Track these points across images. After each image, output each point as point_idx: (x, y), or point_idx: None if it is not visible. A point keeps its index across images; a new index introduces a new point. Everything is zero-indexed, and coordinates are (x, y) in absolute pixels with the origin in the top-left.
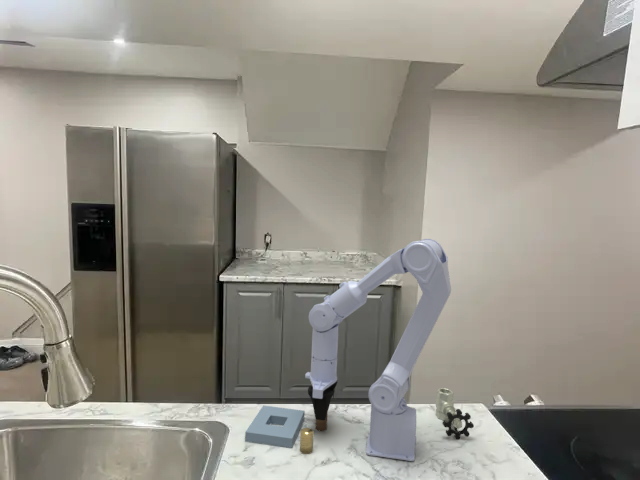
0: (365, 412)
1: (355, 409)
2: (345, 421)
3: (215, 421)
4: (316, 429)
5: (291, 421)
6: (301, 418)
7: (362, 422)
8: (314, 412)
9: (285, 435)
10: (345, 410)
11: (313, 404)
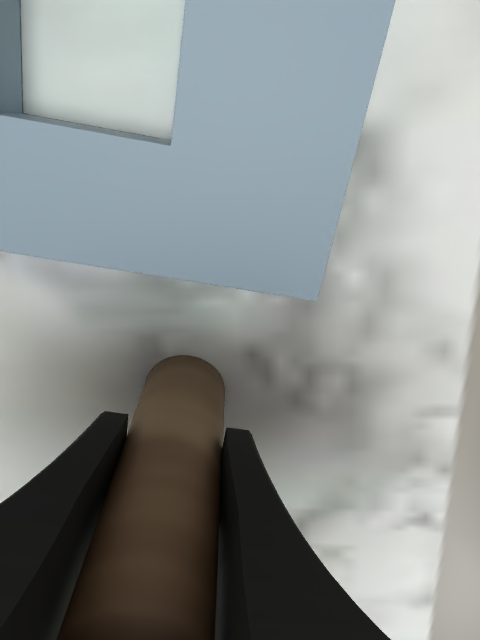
0: (388, 601)
1: (428, 564)
2: None
3: None
4: (158, 364)
5: (97, 191)
6: (186, 277)
7: None
8: (75, 441)
9: None
10: (420, 519)
11: (2, 506)
